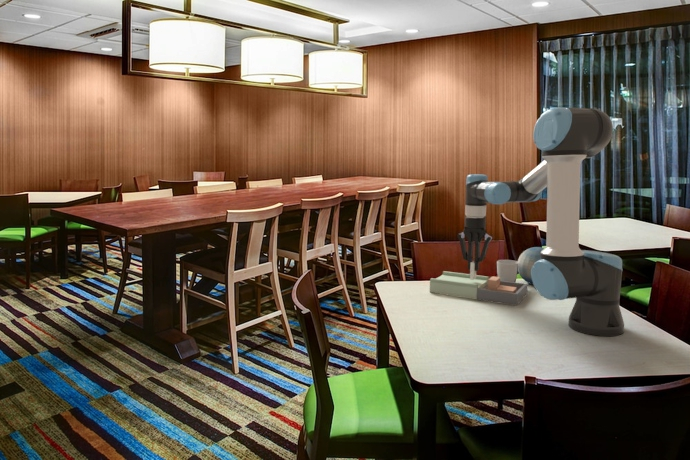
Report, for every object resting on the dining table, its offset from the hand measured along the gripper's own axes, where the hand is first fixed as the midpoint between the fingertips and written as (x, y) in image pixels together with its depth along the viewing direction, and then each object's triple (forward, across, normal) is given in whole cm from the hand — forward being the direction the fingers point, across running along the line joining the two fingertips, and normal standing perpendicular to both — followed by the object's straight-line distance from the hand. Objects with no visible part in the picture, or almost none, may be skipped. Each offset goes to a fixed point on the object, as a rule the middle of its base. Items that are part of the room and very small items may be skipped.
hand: (472, 278), depth 195 cm
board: (+5, +5, 0) cm, 7 cm away
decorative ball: (+6, -18, -25) cm, 31 cm away
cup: (+6, -9, -15) cm, 18 cm away
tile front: (+2, -13, 0) cm, 13 cm away
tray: (+5, -11, 0) cm, 12 cm away
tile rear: (+2, -6, 0) cm, 7 cm away
